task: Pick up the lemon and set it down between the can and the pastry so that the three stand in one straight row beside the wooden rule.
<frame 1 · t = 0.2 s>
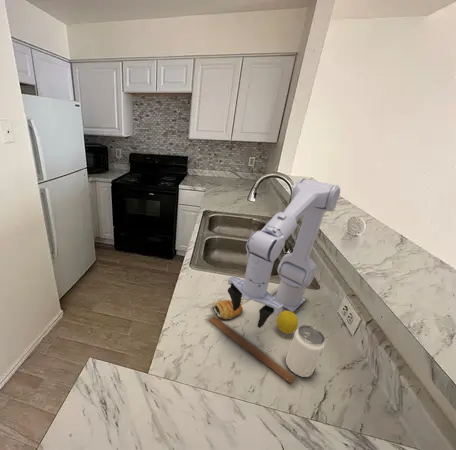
hand: (247, 316, 69), 10 cm above the countertop, tool pointing down, fingers open, 7 cm apart
lemon: (283, 332, 78), on the countertop
pastry: (226, 312, 85), on the countertop
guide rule: (247, 346, 73), on the countertop
can: (298, 366, 67), on the countertop
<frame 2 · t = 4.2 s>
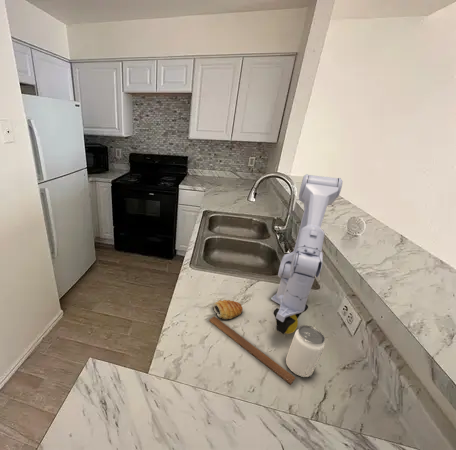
hand: (285, 326, 77), 2 cm above the countertop, tool pointing down, fingers closed on lemon, 5 cm apart
lemon: (283, 332, 78), on the countertop, touching gripper
everything else where it was.
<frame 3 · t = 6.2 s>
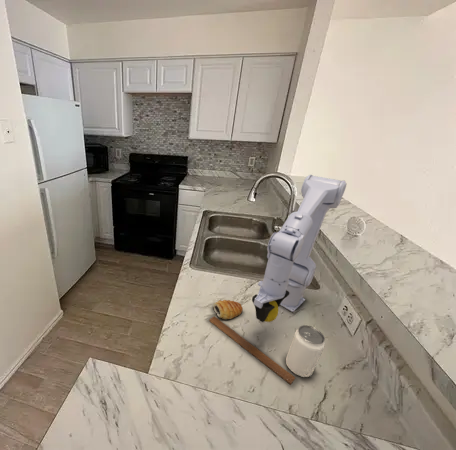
hand: (266, 314, 72), 9 cm above the countertop, tool pointing down, fingers closed on lemon, 5 cm apart
lemon: (264, 320, 73), point 6 cm above the countertop, touching gripper
everything else where it was.
when the fingers open (2 cm above the countertop, at t = 8.4 s): lemon stays where it is, on the countertop.
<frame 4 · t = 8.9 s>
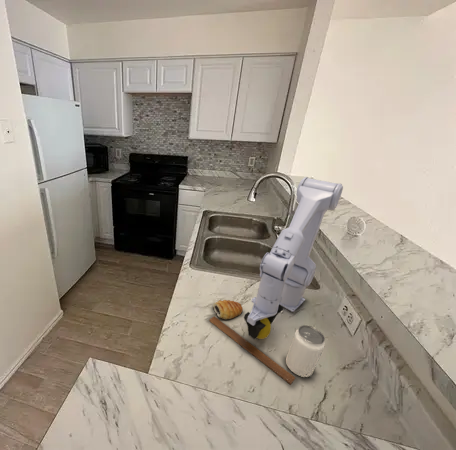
hand: (259, 329, 74), 3 cm above the countertop, tool pointing down, fingers open, 7 cm apart
lemon: (257, 337, 76), on the countertop
everything else where it was.
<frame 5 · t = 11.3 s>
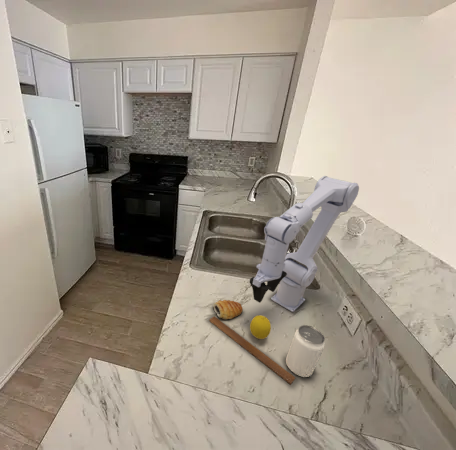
hand: (264, 295, 78), 9 cm above the countertop, tool pointing down, fingers open, 7 cm apart
nothing on the countertop moved.
at the end: lemon 0.1 cm from the target spot, on the countertop; can moved 0.2 cm from its start; pastry moved 0.9 cm from its start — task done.
